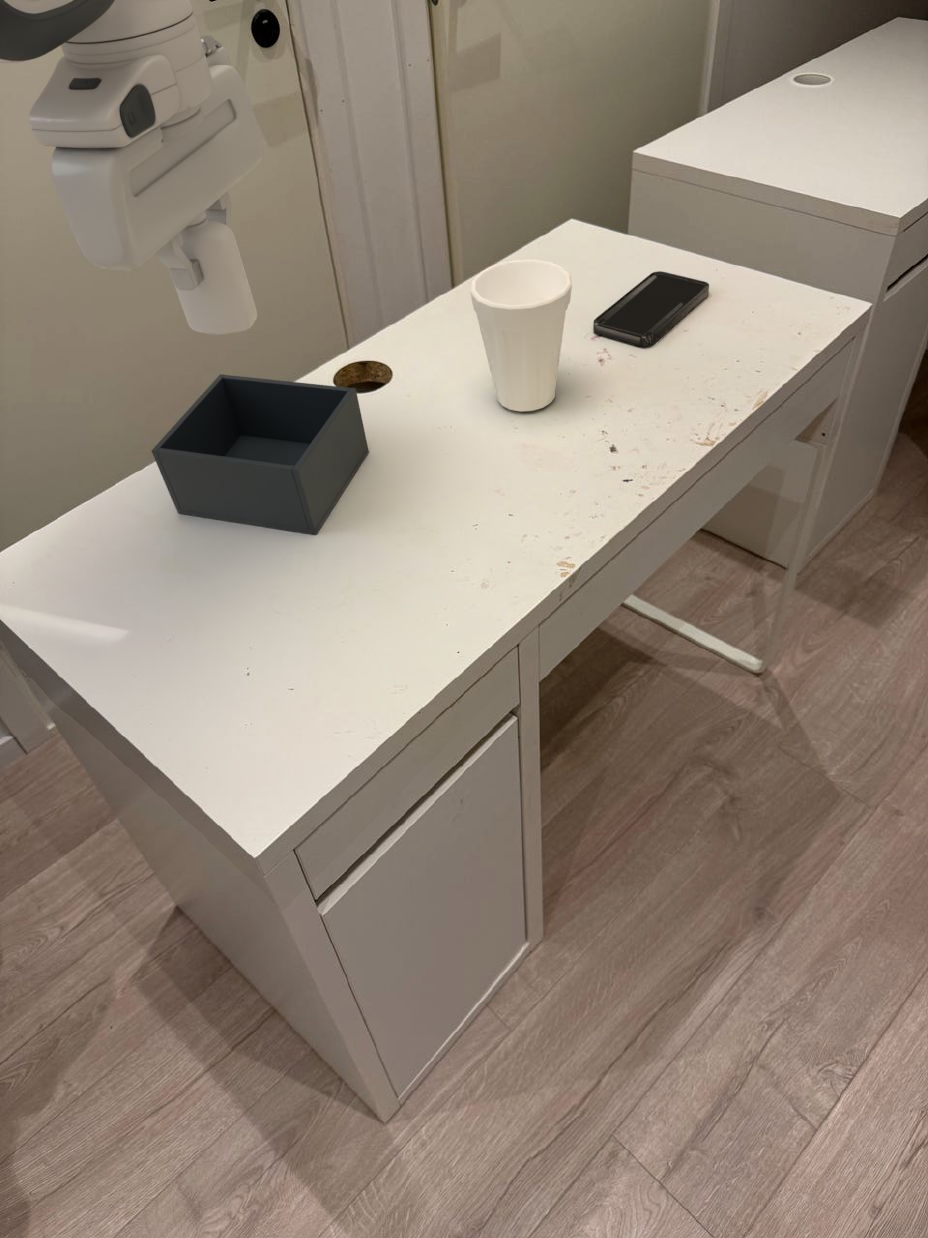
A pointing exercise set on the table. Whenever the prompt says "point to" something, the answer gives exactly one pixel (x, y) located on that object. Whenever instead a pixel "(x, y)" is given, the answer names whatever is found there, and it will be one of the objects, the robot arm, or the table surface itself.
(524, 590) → the table surface
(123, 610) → the table surface
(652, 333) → the phone
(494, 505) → the table surface
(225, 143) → the robot arm
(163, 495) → the table surface
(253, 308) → the eye dropper bottle
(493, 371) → the cup
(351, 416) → the bin
